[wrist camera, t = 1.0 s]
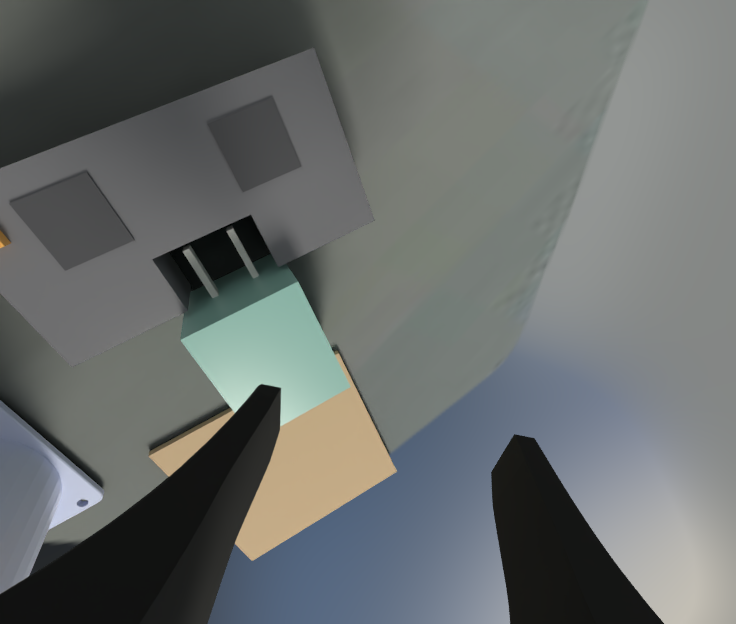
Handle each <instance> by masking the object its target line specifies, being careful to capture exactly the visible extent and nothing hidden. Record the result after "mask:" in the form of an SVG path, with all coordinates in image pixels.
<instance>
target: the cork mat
mask: <svg viewBox="0 0 736 624" xmlns="http://www.w3.org/2000/svg"><path fill="white" fill-rule="evenodd" d="M334 354H335V356H336V358H337V360H338V362H339V364H340V366H341V368H342V370H343V372H344V374H345V376H346V378H347V380H348V382H349V384H350V386H351V387H350V388H348V389H346V390H344V391H343V392H341V393H339V394H337V395H335V396H334V397H332V398H330V399H328V400H327V401H325V402H323V403H321V404H319V405H318V406H316V407H314V408H312V409H311V410H309V411H307V412H305V413H303V414H302V415H300V416H298V417H296V418H295V419H293V420H291V421H289V422H287V423H286V424H284V425H282V426H280V432H279V435H278V438H277V441H276V445H275V448H274V451H273V454H272V457H271V460H270V463H269V465H268V467H267V470H266V472H265V474H264V477H263V479H262V481H261V484H260V486H259V488H258V490H257V493H256V495H255V497H254V500H253V502H252V504H251V506H250V509H249V511H248V513H247V516H246V518H245V520H244V522H243V525H242V527H241V529H240V531H239V534H238V536H237V539H236V541H235V544H236V545H237V546H238V547H239V548H240V549H241V550H242V551H243V552H244V553H245V554H246V555H247V556H248V557H249V558H250V559H251V560H252V561H253V560H255V559H256V558H258V557H259V556H261V555H263V554H264V553H266V552H267V551H269V550H271V549H272V548H274V547H276V546H277V545H279V544H280V543H282V542H284V541H285V540H287V539H288V538H290V537H292V536H293V535H295V534H297V533H298V532H300V531H301V530H303V529H305V528H306V527H308V526H310V525H311V524H313V523H314V522H316V521H318V520H319V519H321V518H322V517H324V516H326V515H327V514H329V513H331V512H332V511H334V510H335V509H337V508H339V507H340V506H342V505H344V504H345V503H347V502H348V501H350V500H351V499H353V498H355V497H356V496H358V495H360V494H361V493H363V492H365V491H366V490H368V489H369V488H371V487H373V486H374V485H376V484H377V483H379V482H381V481H382V480H384V479H386V478H387V477H389V476H390V475H392V474H393V473H395V472H397V471H396V469H395V467H394V465H393V463H392V460H391V458H390V456H389V454H388V452H387V450H386V448H385V446H384V444H383V442H382V440H381V438H380V436H379V434H378V432H377V430H376V428H375V426H374V424H373V422H372V420H371V418H370V416H369V414H368V412H367V410H366V408H365V406H364V404H363V401H362V399H361V397H360V395H359V393H358V391H357V389H356V387H355V385H354V383H353V381H352V379H351V377H350V375H349V373H348V371H347V369H346V367H345V365H344V363H343V361H342V359H341V357H340V355H339V353H338V351H337V350H336V351H334ZM233 415H234V411H233V410H232V409H231V408H229V409H227V410H225V411H223V412H221V413H220V414H218V415H216V416H214V417H212V418H210V419H208V420H207V421H205V422H203V423H201V424H199V425H197V426H195V427H194V428H192V429H190V430H188V431H186V432H184V433H182V434H181V435H179V436H177V437H175V438H173V439H171V440H170V441H168V442H166V443H164V444H162V445H160V446H158V447H157V448H155V449H153V450H151V451H150V452H149V457H150V458H151V459H152V460H153V461H154V462H155V463H156V464H157V465H158V466H159V467H160V468H161V469H162V470H163V471H164V472H165V473H166V474H167V475H168V476H170V475H172V474H173V473H174V472H175V471H176V470H177V469H179V468H180V467H181V466H182V465H183V464H184V463H185V462H186V461H187V460H188V459H189V458H191V457H192V456H193V455H194V454H195V453H196V452H197V451H198V450H199V449H200V448H201V447H202V446H203V445H204V444H205V443H206V442H208V441H209V440H210V439H211V438H212V437H213V435H214V434H215V433H216V432H217V431H218V430H219V429H220V428H221V427H222V426H223V425H224V424H225V423H226V422H227V421H228V420H229V419H230V418H231V417H232V416H233Z"/></svg>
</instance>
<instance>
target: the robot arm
mask: <svg viewBox="0 0 736 624" xmlns="http://www.w3.org/2000/svg"><path fill="white" fill-rule="evenodd" d="M280 415H281V388H280V387H275V386H270V385H265V384H261V385H259V386H258V387H257V388H256V389H255V390H254V392H253V393H252V394H251V395H250V396H249V398H248V399H247V400H246V401H245V402H244V403H243V405H242V406H241V407H240V408H239V409H238V410H237V411H236V412H235V413H234V415H233V416H232V417H231V418H230V419H229V420H228V421H227V422H226V423H225V424H224V425H223V426H222V427H221V428H220V429H219V430H218V431H217V432H216V433H215V434H214V435H213V437H212V438H211V439H210V440H209V441H208V442H206V443H205V444H204V445H203V446H202V447H201V448H200V449H199V450H198V451H197V452H196V453H195V454H194V455H193V456H192V457H191V458H189V459H188V460H187V461H186V462H185V463H184V464H183V465H182V466H181V467H180V468H179V469H177V470H176V471H175V472H174V473H173V474H172V475H170V476H169V477H168V478H167V479H166V480H165V481H163V482H162V483H161V484H160V485H159V486H157V487H156V488H155V489H154V490H152V491H151V492H150V493H149V494H147V495H146V496H145V497H144V498H142V499H141V500H140V501H138V502H137V503H136V504H134V505H133V506H132V507H131V508H129V509H128V510H127V511H125V512H124V513H123V514H121V515H120V516H119V517H117V518H116V519H115V520H113V521H112V522H110V523H109V524H108V525H106V526H105V527H103V528H102V529H101V530H99V531H98V532H96V533H95V534H93V535H92V536H90V537H89V538H87V539H86V540H84V541H83V542H81V543H80V544H78V545H77V546H76V547H74V548H73V549H71V550H70V551H68V552H67V553H65V554H64V555H62V556H61V557H59V558H58V559H56V560H54V561H53V562H51V563H50V564H48V565H47V566H45V567H43V568H42V569H40V570H38V571H37V572H35V573H34V574H32V575H30V576H29V574H30V572H31V570H32V567H33V565H34V562H35V560H36V558H37V555H38V553H39V550H40V548H41V546H42V543H43V541H44V538H45V536H46V534H47V531H48V530H49V529H51V528H53V527H55V526H56V525H58V524H60V523H62V522H64V521H65V520H67V519H69V518H71V517H73V516H75V515H76V514H78V513H80V512H82V511H84V510H85V509H87V508H89V507H91V506H93V505H94V504H96V503H98V502H99V501H101V500H102V498H103V495H104V490H103V489H102V488H101V487H100V486H99V485H98V484H97V483H96V482H94V481H93V480H92V479H91V478H90V477H89V476H88V475H86V474H85V473H84V472H83V471H82V470H81V469H79V468H78V467H77V466H76V465H75V464H74V463H72V462H71V461H70V460H69V459H68V458H67V457H66V456H64V455H63V454H62V453H61V452H60V451H59V450H57V449H56V448H55V447H54V446H53V445H52V444H50V443H49V442H48V441H47V440H46V439H45V438H43V437H42V436H41V435H40V434H39V433H38V432H37V431H35V430H34V429H33V428H32V427H31V426H30V425H28V424H27V423H26V422H25V421H24V420H23V419H21V418H20V417H19V416H18V415H17V414H16V413H15V412H13V411H12V410H11V409H10V408H9V407H8V406H6V405H5V404H4V403H3V402H2V401H0V624H207V623H208V620H209V617H210V614H211V611H212V608H213V605H214V602H215V599H216V596H217V593H218V590H219V587H220V584H221V581H222V578H223V575H224V572H225V569H226V566H227V563H228V560H229V558H230V554H231V552H232V549H233V546H234V544H235V541H236V539H237V536H238V534H239V531H240V529H241V527H242V525H243V522H244V520H245V518H246V516H247V513H248V511H249V509H250V506H251V504H252V502H253V500H254V497H255V495H256V493H257V490H258V488H259V486H260V484H261V481H262V479H263V477H264V474H265V472H266V470H267V467H268V465H269V463H270V460H271V457H272V454H273V451H274V448H275V445H276V441H277V438H278V435H279V432H280ZM491 474H492V475H491V476H492V499H493V510H494V516H495V523H496V529H497V535H498V540H499V547H500V552H501V558H502V564H503V570H504V576H505V582H506V588H507V595H508V602H509V612H510V624H664V623H663V622H662V621H661V619H660V618H659V617H658V616H657V615H656V614H655V612H654V611H653V610H652V609H651V608H650V606H649V605H648V604H647V603H646V601H645V600H644V599H643V598H642V596H641V595H640V594H639V593H638V591H637V590H636V589H635V588H634V586H633V585H632V584H631V583H630V581H629V580H628V579H627V578H626V576H625V575H624V574H623V572H622V571H621V570H620V568H619V567H618V566H617V564H616V563H615V562H614V560H613V559H612V558H611V556H610V555H609V553H608V552H607V551H606V549H605V548H604V546H603V545H602V544H601V542H600V541H599V539H598V538H597V537H596V535H595V534H594V532H593V531H592V529H591V528H590V526H589V525H588V523H587V522H586V521H585V519H584V517H583V516H582V514H581V513H580V511H579V510H578V508H577V506H576V505H575V503H574V502H573V500H572V499H571V497H570V496H569V494H568V492H567V491H566V489H565V488H564V486H563V484H562V483H561V481H560V480H559V478H558V476H557V475H556V473H555V472H554V470H553V468H552V467H551V465H550V463H549V461H548V460H547V458H546V457H545V455H544V453H543V452H542V450H541V448H540V447H539V445H538V443H537V442H536V440H535V439H534V438H530V437H525V436H520V435H514V436H513V438H512V439H511V441H510V442H509V444H508V446H507V447H506V449H505V451H504V452H503V454H502V455H501V457H500V459H499V460H498V462H497V464H496V465H495V467H494V469H493V470H492V472H491ZM81 499H85V500H87V501H81Z"/></svg>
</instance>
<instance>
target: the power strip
mask: <svg viewBox="0 0 736 624" xmlns="http://www.w3.org/2000/svg"><path fill="white" fill-rule="evenodd" d="M249 215H250V216H251V218H252V220H253V222H254V224H255V226H256V228H257V230H258V231H259V233H260V235H261V237H262V239H263V241H264V243H265V245H266V247H267V249H268V250H269V252H270V254H271V256H272V257H273V259H274V261H275V262H276V264H277V266H278V267H280V266H282V265H284V264H286V263H288V262H290V261H292V260H294V259H296V258H298V257H301V256H303V255H305V254H307V253H309V252H311V251H313V250H315V249H317V248H319V247H321V246H323V245H325V244H327V243H329V242H331V241H334V240H336V239H338V238H340V237H342V236H344V235H346V234H348V233H350V232H352V231H354V230H356V229H358V228H360V227H362V226H364V225H367V224H369V223H371V222H373V221H375V220H374V217H373V214H372V211H371V208H370V205H369V203H368V200H367V197H366V194H365V191H364V188H363V185H362V183H361V180H360V177H359V174H358V171H357V168H356V166H355V163H354V160H353V157H352V154H351V151H350V148H349V146H348V143H347V140H346V137H345V134H344V131H343V129H342V126H341V123H340V120H339V117H338V114H337V111H336V109H335V106H334V103H333V100H332V97H331V94H330V92H329V89H328V86H327V83H326V80H325V77H324V74H323V72H322V69H321V66H320V63H319V60H318V57H317V55H316V52H315V49H314V47H313V48H311V49H308V50H306V51H303V52H300V53H298V54H295V55H293V56H290V57H287V58H285V59H282V60H280V61H277V62H274V63H272V64H269V65H267V66H264V67H261V68H259V69H256V70H254V71H251V72H249V73H246V74H243V75H241V76H238V77H236V78H233V79H230V80H228V81H225V82H223V83H220V84H217V85H215V86H212V87H210V88H207V89H204V90H202V91H199V92H197V93H194V94H191V95H189V96H186V97H184V98H181V99H178V100H176V101H173V102H171V103H168V104H166V105H163V106H160V107H158V108H155V109H153V110H150V111H147V112H145V113H142V114H140V115H137V116H134V117H132V118H129V119H127V120H124V121H121V122H119V123H116V124H114V125H111V126H108V127H106V128H103V129H101V130H98V131H95V132H93V133H90V134H88V135H85V136H83V137H80V138H77V139H75V140H72V141H70V142H67V143H64V144H62V145H59V146H57V147H54V148H51V149H49V150H46V151H44V152H41V153H38V154H36V155H33V156H31V157H28V158H25V159H23V160H20V161H18V162H15V163H12V164H10V165H7V166H5V167H2V168H0V293H1V294H2V296H3V297H4V298H5V299H6V300H7V301H8V302H9V303H10V304H11V305H12V306H13V307H14V308H15V309H16V310H17V311H18V312H19V313H20V314H21V315H22V316H23V317H24V318H25V319H26V320H27V321H28V322H29V323H30V324H31V325H32V327H33V328H34V329H35V330H36V331H37V332H38V333H39V334H40V335H41V336H42V337H43V338H44V339H45V340H46V341H47V342H48V343H49V344H50V345H51V346H52V347H53V348H54V349H55V350H56V351H57V352H58V353H59V354H60V355H61V356H62V358H63V359H64V360H65V361H66V362H67V363H68V364H69V365H70V366H71V367H74V366H76V365H78V364H80V363H82V362H84V361H86V360H88V359H90V358H92V357H94V356H96V355H98V354H100V353H103V352H105V351H107V350H109V349H111V348H113V347H115V346H117V345H119V344H121V343H123V342H125V341H127V340H129V339H131V338H133V337H136V336H138V335H140V334H142V333H144V332H146V331H148V330H150V329H152V328H154V327H156V326H158V325H160V324H162V323H164V322H166V321H169V320H171V319H173V318H175V317H177V316H179V315H181V314H183V313H185V312H187V311H188V307H189V298H190V290H191V285H190V283H189V282H188V280H187V279H186V277H185V276H184V274H183V273H182V271H181V270H180V268H179V267H178V265H177V264H176V262H175V261H174V259H173V258H172V256H171V255H170V253H169V251H172V250H174V249H176V248H178V247H180V246H183V245H185V244H187V243H189V242H191V241H194V240H196V239H198V238H200V237H202V236H205V235H207V234H209V233H211V232H214V231H216V230H218V229H220V228H222V227H225V226H227V225H229V224H231V223H233V222H236V221H238V220H240V219H242V218H244V217H247V216H249Z"/></svg>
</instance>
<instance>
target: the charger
mask: <svg viewBox="0 0 736 624" xmlns="http://www.w3.org/2000/svg"><path fill="white" fill-rule="evenodd" d="M226 231H227V233H228V235H229V237H230V239H231V240H232V242H233V244H234V246H235V247H236V249H237V251H238V253H239V254H240V256H241V258H242V260H243V262H244V263H245V265H246V266H244V267H242V268H240V269H238V270H236V271H233V272H231V273H229V274H227V275H225V276H223V277H221V278H219V279H217V280H215V281H213V280H212V279H211V277H210V276H209V274H208V273H207V271H206V269H205V268H204V266H203V265H202V263H201V261H200V260H199V258H198V257H197V255H196V253H195V252H194V250H193V249H192V247H191V245H188V246H186V247H183V251H182V252H183V253H184V255H185V256H186V258H187V260H188V261H189V263H190V264H191V266H192V267H193V269H194V270H195V272H196V273H197V275H198V277H199V278H200V280H201V281H202V283H203V284H204V286H202V287H200V288H198V289H196V290H194V291H191V292H190V298H189V307H188V311H187V312H185V313H184V318H183V325H182V332H181V339H180V340H181V342H182V343H183V344H184V346H185V347H186V348H187V350H188V351H189V352H190V354H191V355H192V356H193V358H194V359H195V360H196V362H197V363H198V364H199V366H200V367H201V368H202V370H203V371H204V372H205V374H206V375H207V376H208V378H209V379H210V381H211V382H212V383H213V385H214V386H215V387H216V389H217V390H218V391H219V393H220V394H221V395H222V397H223V398H224V399H225V401H226V402H227V403H228V405H229V406H230V407H231V409H232V410H233V411H234V413H235V412H236V411H237V410H238V409H239V408H240V407H241V406H242V405H243V403H244V402H245V401H246V400H247V399H248V398H249V396H250V395H251V394H252V393H253V392H254V390H255V389H256V388H257V387H258V386H259V385H261V384H265V385H270V386H275V387H280V388H281V415H280V426H282V425H284V424H286V423H287V422H289V421H291V420H293V419H295V418H296V417H298V416H300V415H302V414H303V413H305V412H307V411H309V410H311V409H312V408H314V407H316V406H318V405H319V404H321V403H323V402H325V401H327V400H328V399H330V398H332V397H334V396H335V395H337V394H339V393H341V392H343V391H344V390H346V389H348V388H350V387H351V386H350V384H349V382H348V380H347V378H346V376H345V374H344V372H343V370H342V368H341V366H340V364H339V362H338V360H337V358H336V356H335V354H334V352H333V350H332V348H331V346H330V344H329V342H328V340H327V338H326V336H325V334H324V332H323V330H322V328H321V326H320V324H319V322H318V320H317V318H316V316H315V314H314V312H313V310H312V308H311V306H310V304H309V302H308V300H307V298H306V296H305V294H304V292H303V290H302V288H301V286H300V284H299V282H298V281H297V279H296V278H295V276H294V275H293V273H292V272H291V270H290V269H289V267H288V266H287V264H284V265H282V266H280V267H278V266H277V264H276V262H275V261H274V259H273V257H272V256H271V254H269V255H267V256H265V257H263V258H261V259H259V260H257V261H254V262H252V261H251V259H250V257H249V255H248V253H247V252H246V250H245V248H244V246H243V244H242V243H241V241H240V239H239V237H238V235H237V234H236V232H235V230H234V228H233V226H229V227H227V228H226Z"/></svg>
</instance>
